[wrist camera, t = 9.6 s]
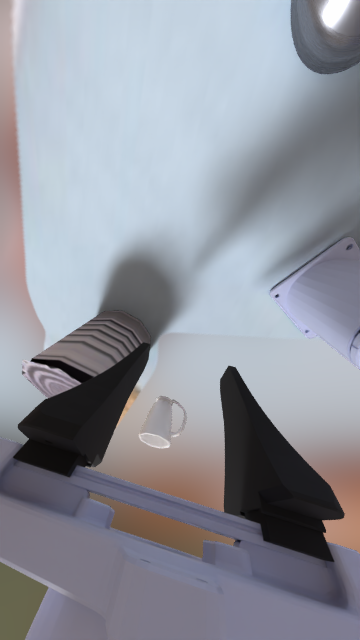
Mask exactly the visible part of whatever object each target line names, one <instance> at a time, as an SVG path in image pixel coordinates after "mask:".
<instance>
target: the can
mask: <svg viewBox="0 0 360 640" xmlns="http://www.w3.org/2000/svg"><path fill="white" fill-rule="evenodd" d="M150 341H151V336H150V335H149V333H148V331H147V330H146V328H145V327H144V325H143V324H142V322H141V321H140V320H138V319H136V318H134V317H133V316H131V315H129V314H127V313H125V312H124V311H104V312H102V313H101V314H99V315H98V316H96V317H95V318H93V319H92V320H90V321H89V322H87V323H85V324H84V325H82V326H81V327H79V328H78V329H76V330H75V331H73V332H72V333H70V334H69V335H67V336H66V337H64V338H63V339H61V340H60V341H58V342H57V343H55V344H54V345H52V346H50V347H49V348H47V349H46V350H44V351H43V352H42V353H40V354H38V355H37V356H35V357H34V358H32V360H31V361H26V360H23V367H22V374H23V376H24V377H26V378H27V379H28V380H29V381H30V382H31V383H32V384H33V385H34V386H35V387H36V388H37V389H38V390H40V391H41V393H43V394H44V395H45V396H46V397H48V398H50V397H53V396H55V395H57V394H60V393H62V392H64V391H67V390H69V389H71V388H73V387H75V386H78V385H80V384H82V383H84V382H86V381H88V380H90V379H92V378H93V377H95V376H97V375H99V374H101V373H102V372H104V371H106V370H107V369H109V368H110V367H112V366H113V365H115V364H116V363H118V362H119V361H121V360H122V359H123V358H125V357H126V356H127V355H129V354H130V353H131V352H132V351H134V350H135V349H136V348H137V347H138V346H139V345H140V344H142V343H143V342H145V343H148V344H150ZM149 350H150V349H149Z"/></svg>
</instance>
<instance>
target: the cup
mask: <svg viewBox="0 0 360 640" xmlns="http://www.w3.org/2000/svg"><path fill="white" fill-rule="evenodd" d="M156 400H157V402H155V403H154V405H153V407H152V409H151V410H150V412H149V414H148V416H147V418H146V420H145V422H144V424H143V427H142V428H141V431H140V433H139V437H140V440H141V441H142V442H144V443H146V444H148V445H150V446H153V447H157V448H167V447H170V440H171V437H177V436H179V435H180V434H181V433H182V431H183V430H184V427H185V424H186V419H187V416H186V411H185V410H184V408H183V407H182V406H181V405H180V404H179V403H178V402H176V401H175V400H171V399H169V398H167V397H163V396H160V397H158V398H157V399H156ZM172 403H176V404H178V405H179V406H180V407H181V408H182V409H183V411H184V420H183V423H182V427H181V428H180V429H179V431H178V432H176V433H174V432H171V425H172Z"/></svg>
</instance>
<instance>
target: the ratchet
mask: <svg viewBox="0 0 360 640" xmlns="http://www.w3.org/2000/svg"><path fill="white" fill-rule="evenodd" d="M291 29H292V37H293V41H294V46H295V48H296V51H297V54H298V56H299V57H300V59H301V61H302V62H303V63H304V64H305V65H306V66H307V68H309V69H310V70H312V71H314V72H317V73H320V74H333V73H338V72H341V71H344V70H346V69H348V68H350V67H352V66H354V65H356V64H358V63H359V62H360V0H291Z"/></svg>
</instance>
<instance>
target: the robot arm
mask: <svg viewBox="0 0 360 640" xmlns="http://www.w3.org/2000/svg"><path fill="white" fill-rule="evenodd" d="M348 245H350V246H349V248H348V249H347V250H346V248H347V246H348ZM269 294H270V296H271V297H272V298H273V299H274V301H275V302H276V303H277V304H278V305H279V306H280V307H281V309H282V310H283V311H284V312H285V313H286V314H287V316H288V317H289V318H290V319H291V320H292V321H293V323H294V324H295V325H296V326H297V327H298V328H299V329H300V331H301V332H302V333H303V334H304V335H305V336H306V337H307V338H309V339H310V338H314V337H316V336H319V337H320V338H321V339H322V340H323V341H325V342H326V343H327V344H329V345H330V346H331V347H332V348H333V349H335V350H336V351H337V352H338V353H340V354H341V355H342V356H343V357H344V358H345V359H347V360H348V361H349V362H350V363H352V364H353V365H354V366H355V367H357V368H358V369H360V249H359V247H358V245H357V244H356V242H355V240H354V239H353V238H352V237H346V238H343V239H342V240H340V241H339V242H337V243H336V244H335V245H333V246H332V247H330V248H329V249H328V250H326V251H325V252H323V253H322V254H321V255H319V256H318V257H316V258H315V259H314V260H312V261H311V262H309V263H308V264H307V265H305V266H304V267H303V268H301V269H300V270H298V271H297V272H296V273H294V274H293V275H291V276H290V277H289V278H287V279H286V280H284V281H283V282H282V283H280V284H279V285H277V286H276V287H275V288H273V289H272V290H271V291H270V292H269ZM277 294H278V296H277V297H275V295H277ZM306 330H307V331H306ZM149 349H150V344H148V343H145V342H143V343H142V344H140V345H139V346H138V347H137V348H136V349H135V350H134V351H132V352H131V353H130V354H129V355H127V356H126V357H125V358H123V359H122V360H121V361H119V362H118V363H116V364H115V365H113V366H112V367H110V368H109V369H107V370H106V371H104V372H102V373H101V374H99V375H97V376H95V377H93V378H92V379H90V380H88V381H86V382H84V383H82V384H80V385H78V386H75V387H73V388H71V389H69V390H67V391H64V392H62V393H60V394H57V395H55V396H53V397H50V398H48V399H45V400H44V401H43V402H42V403H40V404H39V405H38V406H37V407H36V408H35V409H34V410H33V411H32V412H31V413H30V414H29V415H28V416H26V417H25V418H24V419H23V421H21V422H20V423H19V424H18V429H19V430H20V431H21V432H22V433H23V434H24V435H25V436H27V437H28V438H29V440H28V441H27V442H26V443H25V444H24V445H22V444H20V443H18V442H15V441H12V440H9V439H6V438H2V437H0V562H2V563H4V564H6V565H8V566H10V567H12V568H14V569H16V570H17V571H19V572H21V573H23V574H25V575H27V576H29V577H31V578H33V579H35V580H36V581H39V582H40V583H42V584H44V585H46V586H48V587H49V588H48V590H47V592H46V595H45V597H44V599H43V601H42V603H41V606H40V608H39V610H38V612H37V614H36V616H35V619H34V621H33V623H32V625H31V628H30V630H29V632H28V634H27V636H26V639H25V640H360V554H359V553H358V552H357V551H356V550H352V549H349V548H346V547H343V546H340V545H337V544H333V543H328V542H326V540H325V537H324V535H323V532H324V533H326V529H325V527H324V524H323V522H322V520H336V519H342V518H344V512H343V510H342V508H341V506H340V504H339V502H338V500H337V498H336V496H335V495H334V493H333V491H332V489H331V487H330V485H329V484H328V483H327V482H325V480H323V478H322V477H321V476H320V475H319V474H318V473H317V472H316V471H315V470H313V468H312V467H311V466H309V464H308V463H307V462H306V461H305V460H304V459H303V458H302V457H301V456H300V455H299V454H298V453H297V451H295V449H294V448H293V447H292V446H291V445H290V444H289V443H288V441H287V440H286V439H285V438H284V437H283V436H282V434H281V433H280V432H279V431H278V430H277V428H276V427H275V426H274V425H273V423H272V422H271V421H270V419H269V418H268V417H267V416H266V414H265V413H264V412H263V410H262V409H261V407H260V406H259V405H258V403H257V402H256V400H255V399H254V397H253V396H252V394H251V392H250V391H249V389H248V388H247V386H246V384H245V383H244V381H243V379H242V378H241V376H240V374H239V372H238V371H237V369H236V368H235V367H232V366H228V368H227V369H226V371H225V373H224V374H223V376H222V378H221V379H220V393H221V402H222V410H223V418H224V431H225V488H224V490H225V491H224V512H221V511H218V510H215V509H212V508H209V507H206V506H202V505H200V504H196V503H193V502H190V501H187V500H184V499H181V498H178V497H175V496H172V495H169V494H165V493H162V492H159V491H156V490H153V489H150V488H147V487H144V486H141V485H137V484H134V483H131V482H128V481H125V480H122V479H119V478H116V477H112V476H109V475H106V474H103V473H100V472H97V471H94V470H91V469H88V468H85V466H87V467H91V466H92V467H96V466H97V465H98V464H100V463H101V462H102V459H103V457H104V454H105V452H106V449H107V447H108V444H109V442H110V440H111V437H112V435H113V432H114V430H115V428H116V425H117V423H118V421H119V418H120V416H121V414H122V411H123V409H124V407H125V405H126V403H127V400H128V398H129V396H130V394H131V392H132V391H133V389H134V387H135V385H136V383H137V382H138V380H139V378H140V376H141V374H142V373H143V371H144V369H145V366H146V364H147V362H148V358H149ZM88 491H89V492H92V493H95V494H98V495H101V496H104V497H107V498H110V499H113V500H116V501H119V502H122V503H125V504H128V505H131V506H134V507H137V508H141V509H144V510H146V511H149V512H153V513H156V514H159V515H162V516H165V517H168V518H171V519H174V520H177V521H180V522H183V523H186V524H189V525H192V526H195V527H198V528H201V529H204V530H208V531H210V532H214V533H216V534H220V535H223V536H226V537H229V538H232V539H235V540H236V541H235V542H234V545H233V546H231V545H228V544H224V543H221V542H217V541H215V542H214V541H208V540H204V541H203V558H199V557H196V556H193V555H190V554H187V553H184V552H181V551H178V550H176V549H173V548H170V547H167V546H164V545H161V544H158V543H155V542H152V541H149V540H146V539H143V538H141V537H138V536H135V535H132V534H128V533H125V532H122V531H119V530H116V529H113V528H110V525H111V522H112V519H113V516H114V513H115V512H114V510H113V509H111V506H108V505H105V504H102V503H100V502H97V501H95V500H92V499H89V498H90V494H89V492H88Z"/></svg>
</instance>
